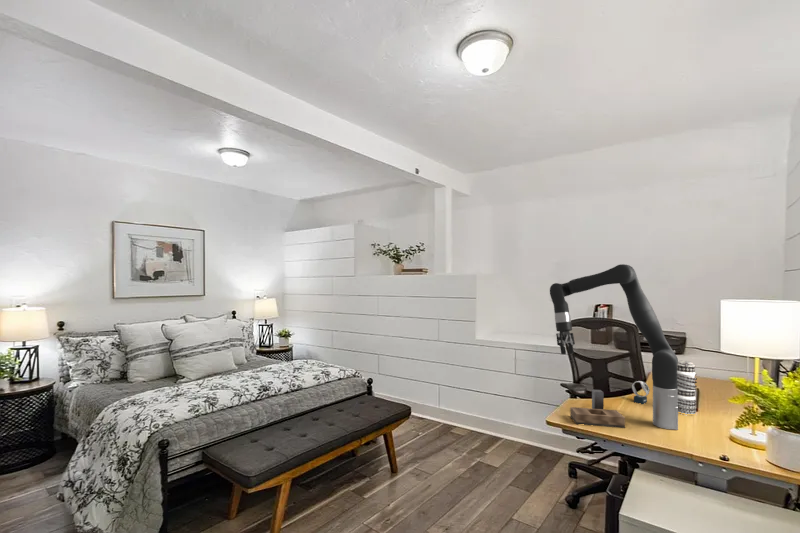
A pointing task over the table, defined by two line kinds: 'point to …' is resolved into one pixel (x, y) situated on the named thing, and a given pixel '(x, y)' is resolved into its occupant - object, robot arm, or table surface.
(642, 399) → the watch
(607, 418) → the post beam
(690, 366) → the model tower building
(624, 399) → the table surface
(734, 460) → the table surface
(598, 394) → the grey rectangular block
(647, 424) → the table surface
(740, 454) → the table surface
